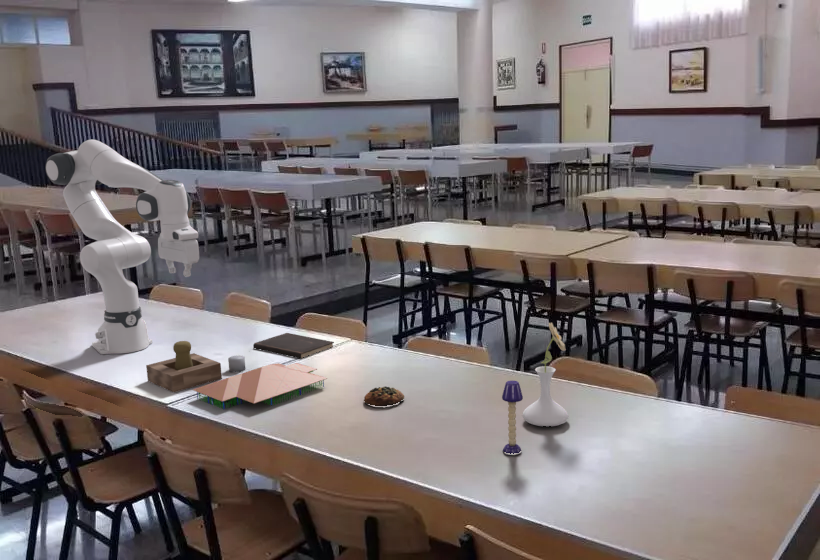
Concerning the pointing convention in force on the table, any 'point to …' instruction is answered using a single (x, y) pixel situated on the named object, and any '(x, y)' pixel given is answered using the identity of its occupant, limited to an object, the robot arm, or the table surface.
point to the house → (261, 384)
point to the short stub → (236, 363)
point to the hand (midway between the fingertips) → (179, 274)
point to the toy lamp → (512, 413)
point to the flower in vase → (546, 394)
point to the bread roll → (383, 396)
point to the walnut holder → (184, 373)
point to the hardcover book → (293, 345)
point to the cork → (182, 355)
